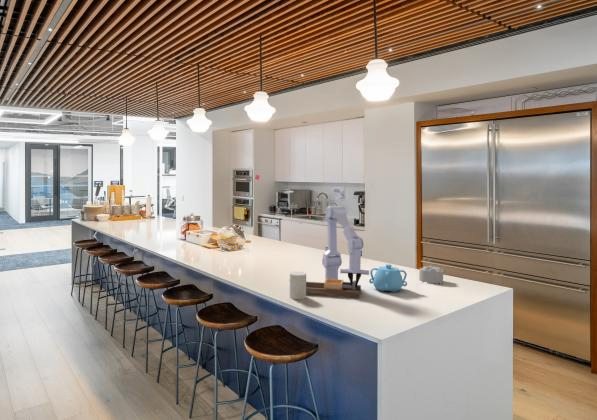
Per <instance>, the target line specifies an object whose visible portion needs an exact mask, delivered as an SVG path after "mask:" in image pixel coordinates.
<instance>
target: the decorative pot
mask: <svg viewBox="0 0 597 420" xmlns="http://www.w3.org/2000/svg"><path fill="white" fill-rule="evenodd" d="M373 271H375V273H374V274H373ZM401 272H402V273H404V276H402V274H401ZM369 275H370V277H371V278H370V279H369V281H368V282H369V283H370V284H372V285H373V286H374V288H375V289H376V290H378V291H379V292H385V291H386V292H388V291H390V293H396V292H397V291H400V290H401V289H402V288H403V287H407V285H408V282H407V281H406V278H407V276H408V275H407V272H406V270H404V269H399V268H398V267H397V266H396V267H394V266H393V265H392V264H388V263H387V264H386V263H385V266H384V265H382V266H379V267H373V268H371V270H369Z"/></svg>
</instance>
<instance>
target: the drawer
mask: <svg viewBox="0 0 597 420" xmlns="http://www.w3.org/2000/svg"><path fill="white" fill-rule="evenodd" d="M323 283H324V289H337V290H343V288H352V291H355V289H356V288H355V286H356V280H353V284H352V286H348V285H351V283H350V281H344V279H339V278H338V279H326V280H325V279H324V282H323ZM343 284H344V285H343Z"/></svg>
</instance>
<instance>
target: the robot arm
mask: <svg viewBox="0 0 597 420" xmlns="http://www.w3.org/2000/svg"><path fill="white" fill-rule="evenodd" d="M324 211H325V221H327V222H326V229H327V233H326V234H327V235H326V236H327V238H326V239H327V240H326V241H327V250H326V251H325V252H324V253H323V254H322V266H323V268H325V269H324V271H325V274H324V276H325V277H324V281H325V280H326V279H339V272H340V274H347V277H348V280H349V282H350V283H351V286H352V284H353V281H354V275H355V281H356V286H355V288H357V285H359V282H360V279H361V278H362V275H366V276H369V275H370V270H366V269H361V264H362V263H361V262H362V261H361V259H362V249H363V248H364V241H363V238H362V237H360V236H358V234H357V232H356V230H355V228H354V227H353V226H351V225H350V223H349V220H348V218H347V209H346V207H345V206H344V205H336V206H334V205H329V206H326V208H325V210H324ZM337 223H340V226H341V227H342V228H343V231H342V232H343V235H344V237H345V239H346V240H347V248H348V249H347V250H348V253H349V254H348V255H349V257H348V259H349V260H348V268H340V267H341V266H342V263H343V261H342V256H341V255H342V254H341V253H340V252H339V251H338V245H337V244H338V243H337V242H338V241H337V240H338V239H337V237H338V236H337V234H338V233H337ZM339 269H340V271H339Z"/></svg>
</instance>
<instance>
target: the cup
mask: <svg viewBox="0 0 597 420" xmlns="http://www.w3.org/2000/svg"><path fill="white" fill-rule="evenodd" d="M306 282H307V272H305V271H292V272H289V298H290V299H291V300H296V299H300V300H304V298H305V299H306V298H307V297H306V296H307V295H306Z"/></svg>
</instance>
